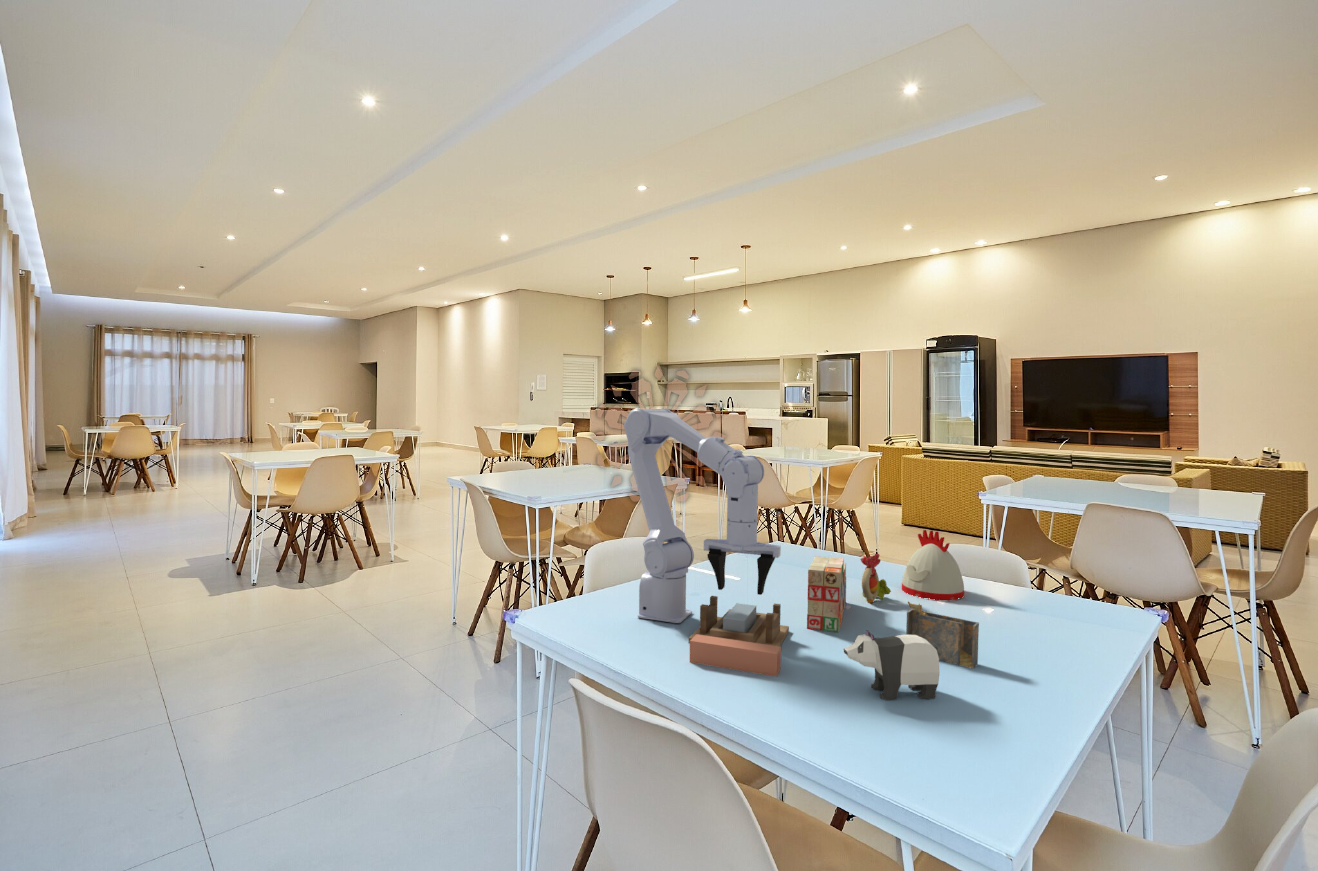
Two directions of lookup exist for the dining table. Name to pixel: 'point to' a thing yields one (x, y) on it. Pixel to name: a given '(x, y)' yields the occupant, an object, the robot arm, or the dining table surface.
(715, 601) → the jig
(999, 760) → the dining table surface
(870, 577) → the bird rattle
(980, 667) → the dining table surface
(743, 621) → the pale grey pillar block
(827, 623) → the stack of blocks
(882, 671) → the giant panda
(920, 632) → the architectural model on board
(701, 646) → the terracotta rectangular bar
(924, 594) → the kitchen timer
